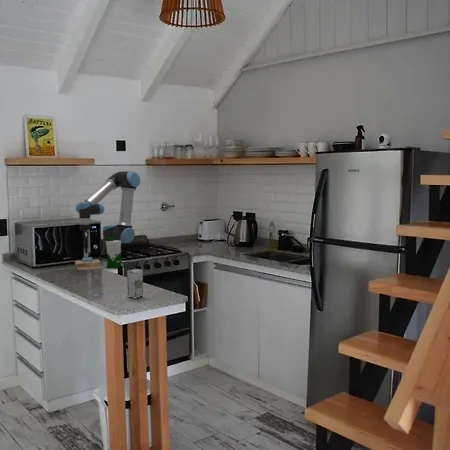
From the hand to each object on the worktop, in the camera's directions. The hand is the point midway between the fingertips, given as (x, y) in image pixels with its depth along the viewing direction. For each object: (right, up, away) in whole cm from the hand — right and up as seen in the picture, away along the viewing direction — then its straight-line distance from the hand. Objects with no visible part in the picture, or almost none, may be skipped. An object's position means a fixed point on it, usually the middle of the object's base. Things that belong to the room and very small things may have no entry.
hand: (86, 257), depth 381 cm
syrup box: (+51, -15, -97) cm, 111 cm away
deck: (+3, -5, -7) cm, 9 cm away
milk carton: (+22, -6, -13) cm, 27 cm away
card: (+3, -2, -6) cm, 7 cm away
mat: (+7, -6, -17) cm, 19 cm away
